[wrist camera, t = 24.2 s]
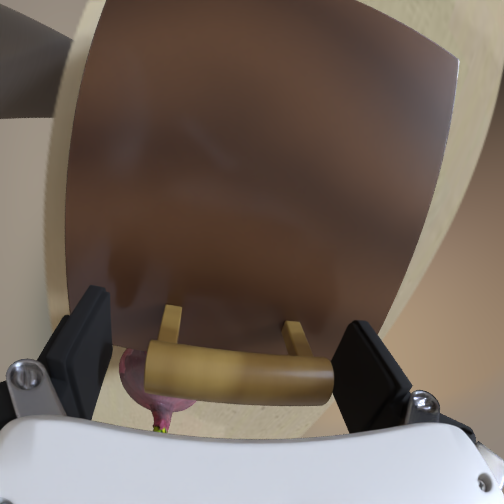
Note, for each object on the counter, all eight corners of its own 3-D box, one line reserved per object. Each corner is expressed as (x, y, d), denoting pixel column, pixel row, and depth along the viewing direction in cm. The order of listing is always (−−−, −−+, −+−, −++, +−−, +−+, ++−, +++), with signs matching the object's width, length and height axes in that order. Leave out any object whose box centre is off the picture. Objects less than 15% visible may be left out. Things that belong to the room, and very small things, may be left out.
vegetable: (220, 351, 24) (227, 457, 14) (161, 375, 24) (148, 472, 15) (179, 297, 21) (161, 406, 12) (117, 327, 22) (81, 427, 13)
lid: (354, 359, 15) (390, 427, 11) (78, 326, 12) (39, 400, 8) (449, 61, 9) (528, 54, 5) (128, -33, 7) (90, -96, 2)
